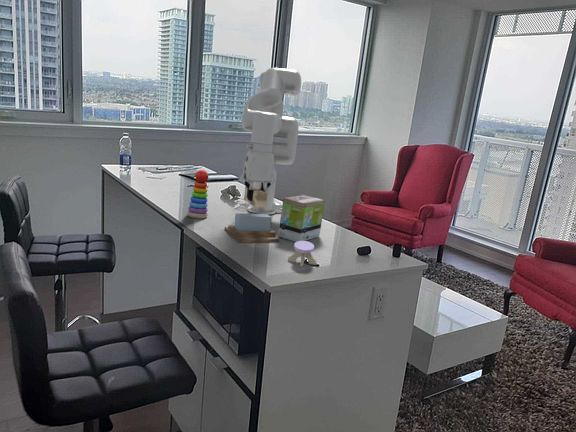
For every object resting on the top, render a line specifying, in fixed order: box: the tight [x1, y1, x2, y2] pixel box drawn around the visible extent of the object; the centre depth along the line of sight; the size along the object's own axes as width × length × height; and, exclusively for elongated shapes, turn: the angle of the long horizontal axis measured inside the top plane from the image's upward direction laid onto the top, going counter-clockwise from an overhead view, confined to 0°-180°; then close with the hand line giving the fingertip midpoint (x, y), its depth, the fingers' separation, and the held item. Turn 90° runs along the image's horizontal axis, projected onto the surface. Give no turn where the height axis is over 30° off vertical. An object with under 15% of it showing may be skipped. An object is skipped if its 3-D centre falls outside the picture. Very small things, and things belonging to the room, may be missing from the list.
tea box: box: [277, 194, 326, 243], centre depth 175 cm, size 15×10×15 cm
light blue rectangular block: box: [233, 213, 272, 231], centre depth 170 cm, size 12×4×6 cm, turn 114°
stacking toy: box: [186, 169, 209, 219], centre depth 186 cm, size 8×8×19 cm
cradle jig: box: [224, 224, 281, 243], centre depth 170 cm, size 15×16×2 cm
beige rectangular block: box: [243, 186, 267, 208], centre depth 167 cm, size 12×4×5 cm, turn 26°
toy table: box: [287, 240, 318, 268], centre depth 147 cm, size 10×9×6 cm
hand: (255, 199), depth 167 cm, fingers closed on beige rectangular block, 3 cm apart
